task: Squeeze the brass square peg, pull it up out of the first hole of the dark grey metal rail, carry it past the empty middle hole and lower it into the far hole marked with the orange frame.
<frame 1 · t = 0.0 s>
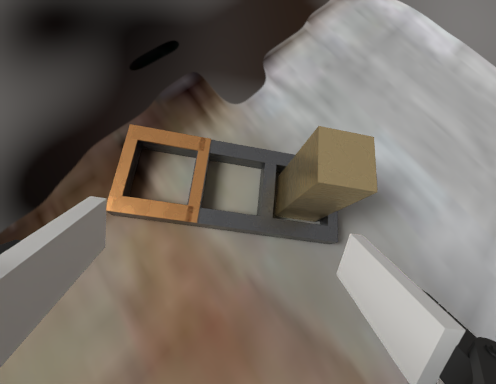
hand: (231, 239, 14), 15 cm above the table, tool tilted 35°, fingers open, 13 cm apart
brass peg: (295, 199, 32), resting in rail
rail: (232, 189, 31), on the table
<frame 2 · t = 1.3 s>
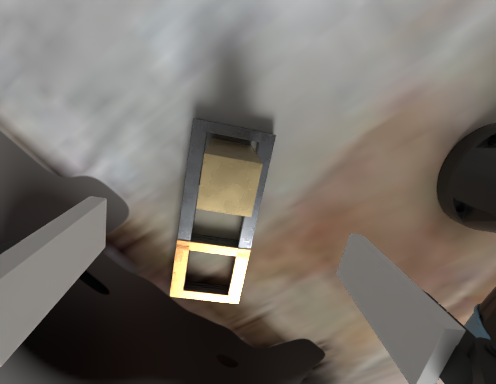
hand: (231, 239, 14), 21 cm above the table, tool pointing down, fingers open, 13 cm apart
brass peg: (228, 160, 34), resting in rail
rail: (219, 216, 36), on the table
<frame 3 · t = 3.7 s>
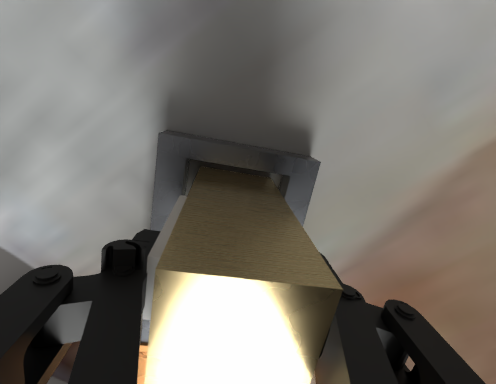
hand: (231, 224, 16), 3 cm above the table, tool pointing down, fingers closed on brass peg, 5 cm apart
brass peg: (230, 204, 19), resting in rail, touching gripper
rail: (214, 294, 21), on the table
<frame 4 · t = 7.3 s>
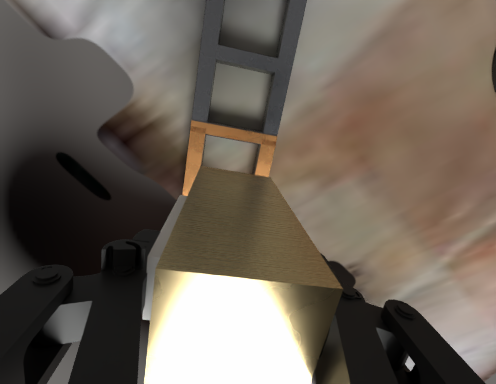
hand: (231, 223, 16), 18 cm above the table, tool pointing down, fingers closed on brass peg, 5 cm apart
brass peg: (230, 204, 19), point 15 cm above the table, touching gripper
rail: (239, 98, 31), on the table
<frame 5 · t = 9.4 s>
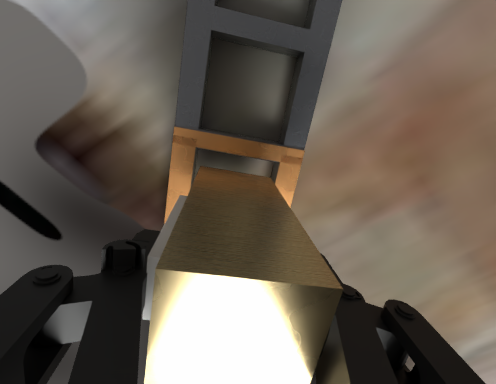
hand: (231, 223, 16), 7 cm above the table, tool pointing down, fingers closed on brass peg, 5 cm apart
brass peg: (230, 204, 19), point 4 cm above the table, touching gripper
rail: (247, 93, 20), on the table
when the fingers open (5 cm above the table, at t = 10.9 s): brass peg drops 1 cm, resting in rail.
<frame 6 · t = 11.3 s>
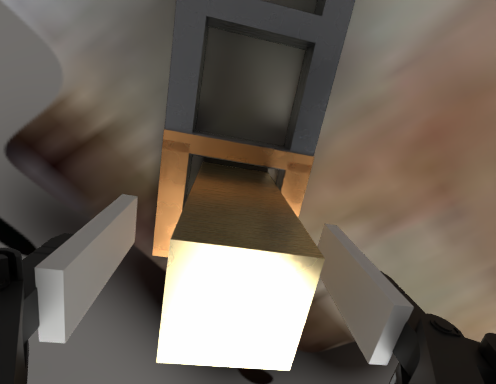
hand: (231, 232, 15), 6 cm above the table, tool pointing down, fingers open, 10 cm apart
brass peg: (230, 197, 20), resting in rail
rail: (249, 91, 18), on the table
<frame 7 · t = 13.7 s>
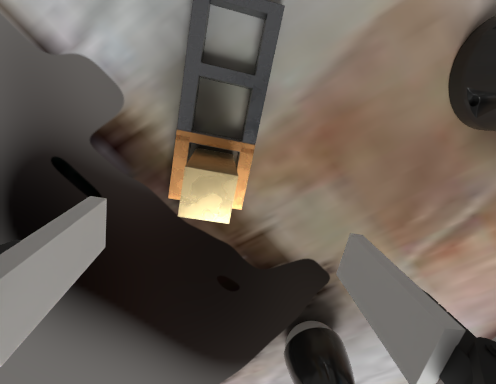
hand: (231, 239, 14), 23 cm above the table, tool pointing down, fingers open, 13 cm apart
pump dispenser: (306, 332, 47), on the table
brass peg: (212, 168, 36), resting in rail
rail: (221, 109, 34), on the table
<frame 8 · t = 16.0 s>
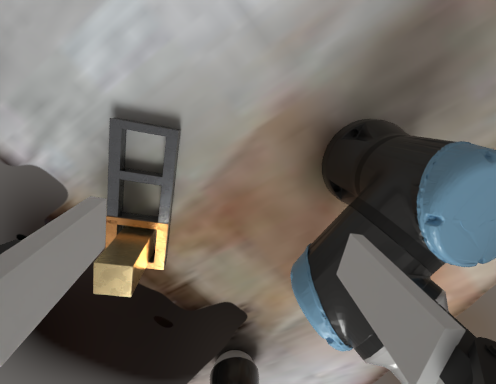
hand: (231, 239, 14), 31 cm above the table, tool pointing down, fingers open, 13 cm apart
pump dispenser: (233, 358, 58), on the table
brass peg: (140, 238, 47), resting in rail
rail: (143, 197, 44), on the table
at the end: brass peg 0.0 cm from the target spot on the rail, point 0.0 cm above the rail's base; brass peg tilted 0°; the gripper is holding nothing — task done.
